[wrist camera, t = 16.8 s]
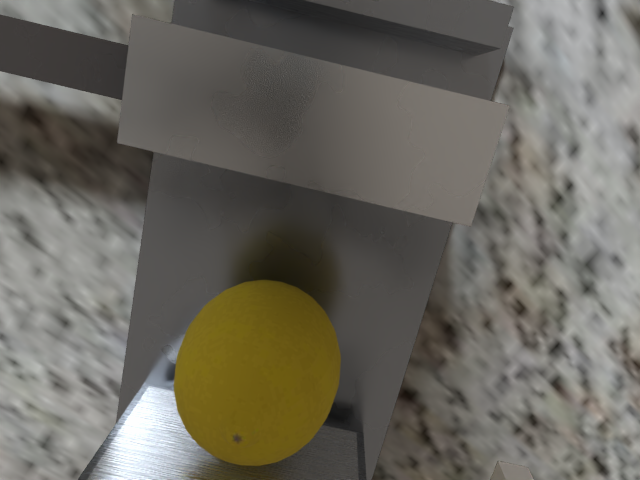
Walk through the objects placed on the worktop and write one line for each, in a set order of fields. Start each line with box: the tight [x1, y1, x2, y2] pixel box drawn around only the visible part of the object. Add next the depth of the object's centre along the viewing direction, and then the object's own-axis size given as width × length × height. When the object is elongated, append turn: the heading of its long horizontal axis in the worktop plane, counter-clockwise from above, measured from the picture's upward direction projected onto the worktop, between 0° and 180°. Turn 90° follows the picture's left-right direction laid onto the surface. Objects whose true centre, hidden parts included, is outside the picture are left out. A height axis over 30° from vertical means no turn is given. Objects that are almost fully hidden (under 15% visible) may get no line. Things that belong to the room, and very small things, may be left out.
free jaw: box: [0, 14, 510, 227], centre depth 15 cm, size 3×20×7 cm, turn 77°
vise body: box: [78, 0, 514, 480], centre depth 17 cm, size 21×12×9 cm, turn 167°
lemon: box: [174, 280, 341, 466], centre depth 18 cm, size 6×6×8 cm
